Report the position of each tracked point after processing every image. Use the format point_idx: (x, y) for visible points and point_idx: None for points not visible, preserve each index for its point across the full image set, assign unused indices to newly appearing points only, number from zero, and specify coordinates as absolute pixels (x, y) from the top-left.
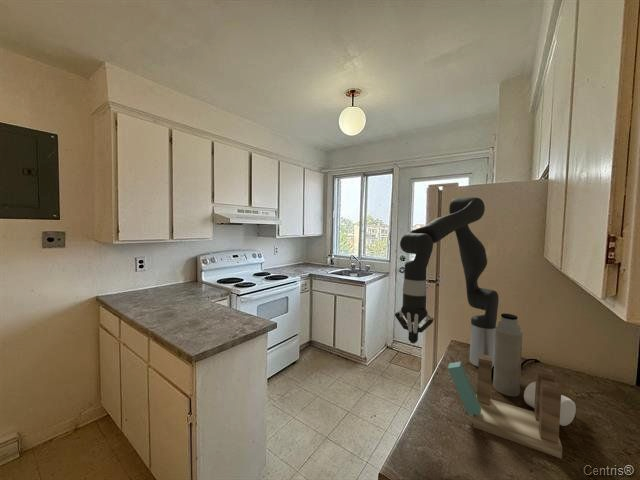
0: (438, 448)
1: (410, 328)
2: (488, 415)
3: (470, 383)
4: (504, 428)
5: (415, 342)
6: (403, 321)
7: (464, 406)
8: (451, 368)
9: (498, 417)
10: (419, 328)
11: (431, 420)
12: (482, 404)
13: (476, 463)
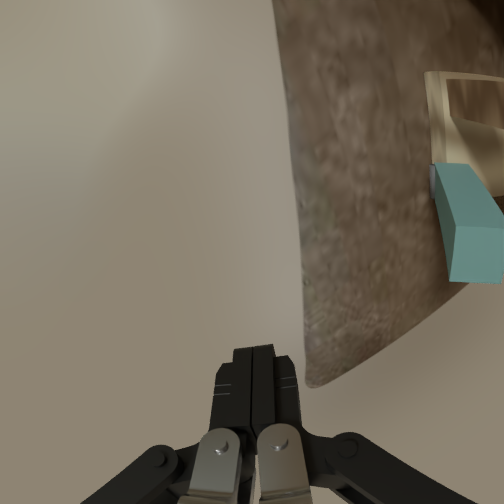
0: (371, 311)
1: (242, 490)
2: (475, 168)
3: (486, 189)
4: (497, 195)
5: (274, 352)
6: (130, 499)
7: (436, 206)
8: (463, 278)
9: (492, 160)
10: (327, 486)
11: (341, 243)
12: (462, 121)
13: (433, 294)
